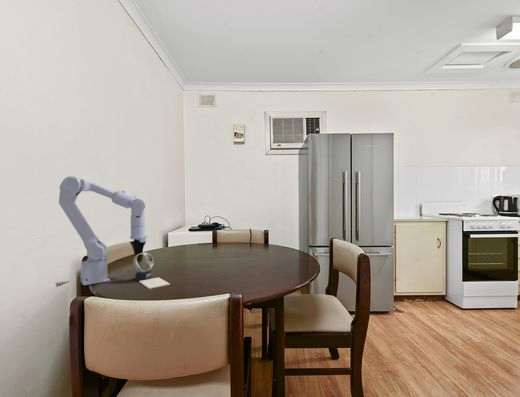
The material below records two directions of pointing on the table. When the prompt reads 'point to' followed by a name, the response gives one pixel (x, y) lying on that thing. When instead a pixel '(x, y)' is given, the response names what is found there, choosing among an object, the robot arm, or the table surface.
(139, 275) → the watch
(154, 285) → the mat
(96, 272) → the robot arm
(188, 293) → the table surface
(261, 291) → the table surface
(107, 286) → the table surface
